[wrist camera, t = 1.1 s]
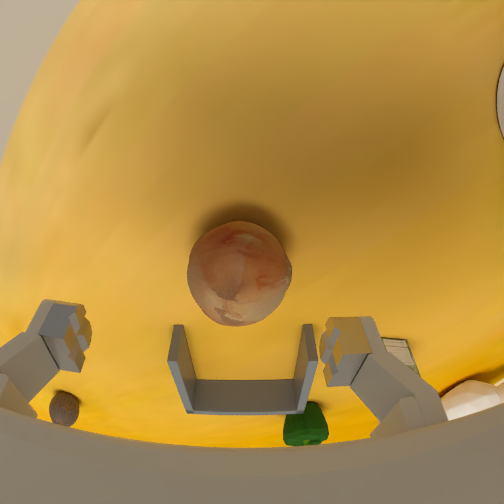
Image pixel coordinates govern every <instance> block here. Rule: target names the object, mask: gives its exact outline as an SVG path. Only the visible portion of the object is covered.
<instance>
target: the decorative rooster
mask: <svg viewBox="0 0 504 504" xmlns="http://www.w3.org/2000/svg"><path fill="white" fill-rule="evenodd" d="M440 400H441V402H442V405H443V407H444V410H445V413H446V415H447V418H448V421H449V420H453V419H456V418H460V417H463V416H466V415H469V414H472V413H476V412H479V411H482V410H484V409H487V408H490V407H493V406H496V405H499V404H501V403H504V383H502V384H500V385H499V386H495V385H492V384H489V383H485V382H482V381H477V380H467V381H465V382H463V383H461V384H459V385H458V386H456V387H455V388H453V389H452V390H450V391H449V392H448V393H446V394H445V395H444V396H443V397H442V398H441V399H440Z"/></svg>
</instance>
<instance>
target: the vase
mask: <svg viewBox="0 0 504 504" xmlns="http://www.w3.org/2000/svg"><path fill="white" fill-rule="evenodd" d="M49 413H50V417H51V419H52V422H53V423H55V424H58V425H62V426H66V427H70V426H71V425H73V424H74V423H75V422H76V420H77V418H78V415H79V404H78V401H77V400H76V398H75V397H74V396H72V395H71V394H69V393H66V392H60V393H57V394H56V395H55V396H54V397H53V398H52V400H51V402H50V406H49Z"/></svg>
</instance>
